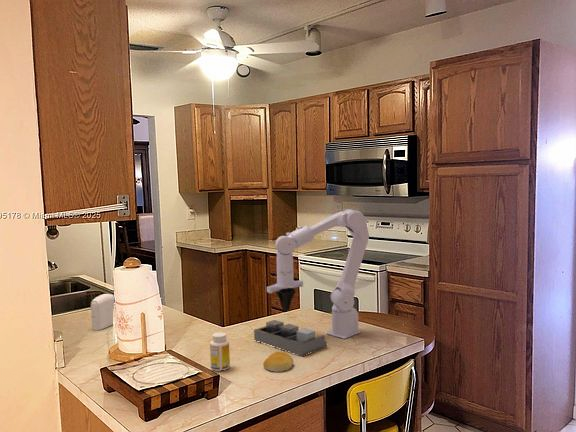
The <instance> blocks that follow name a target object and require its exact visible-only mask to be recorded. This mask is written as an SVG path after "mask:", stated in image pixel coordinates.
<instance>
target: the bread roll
mask: <svg viewBox="0 0 576 432" xmlns="http://www.w3.org/2000/svg"><path fill="white" fill-rule="evenodd" d="M292 365H294V359H293V358H292V356H291V355H290V354H289V353H288V352H285V351H275V352H273V353H271V354H270V355H269V356H268V357H267V358H266V359H265V360H264V361H263V365H262V366H263V368H264V369H265V368H266V369H265V370H267V369H268V370H267V371H269V370H270V371H269V372H271V371H282V372H285V371H284V370H287V371H289V370H290V369H291V368H292V367H293V366H292ZM288 369H289V370H288Z"/></svg>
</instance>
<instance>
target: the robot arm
mask: <svg viewBox="0 0 576 432" xmlns="http://www.w3.org/2000/svg"><path fill="white" fill-rule="evenodd" d="M367 222H368V220H367V218H366V217H365V215H364V214H363V212H361V211H360V210H354V209H352V208H346V209H344V210H343V211H338V212H336V213H333V214H332V215H330V216H328V217H326V218H324V219H322V220H321V221H319V222H317V223H315V224H314V225H312V226H309V225H299V226H298V228H297V229H295V230H293V231H292V232H289V231H288V232H286V233H285V235H280V236H279V237H278V238H277V239H276V240H275V243H274V247H275V250H276V283H275V284H272V285H269V286H266V292H267V294H273V293H274V292H275V293H276V295H277V296H278V299H279V302H280V305H281V308H282V309H281V310H282V311H285V312H288V311H290V308H291V304H292V300H293V297H294V296H295V294H296V289H295V288H299V287H300V288H302V287H304V281H303V280H301V279H300V280H294V275H295V274H294V254H293V252H294V250H295V249H298V248H301V247H302V246H304V245H306V244H308V243H310V242H312V241H314V238H315V236H316V235H318V234H320V233H323V232H325V231H327V230H329V229H330V230H331V229H333V228H334V227H341V228H342V227H343V228H346V229H347V230H348V231H349V233H350V235H351V237H352V241H351V245H350V248H349V251H348V255H347V257H346V260H345V263H344V267H343V270H342V273H341V277H340V279H339V281H338V282H337V283H336V286H335V287H334V289H333V290H332V291H331V293H330V301H331V303H332V304H333V305H332V307H331V327H332V328H331V331H329V332H327V333H326V334H327V335H329V336H332V337H337V338H340V339H348V338H350V337H352V336H355V335H357V334H360V333H361V330H359V312H358V311H357V308H355V307H354V306H355V299H354V298H355V293H356V290H355V285H356V281H357V278H358V275H359V271H360V268H361V265H362V262H363V258H364V255H365V252H366V249H367V245H368V243H369V238H370V234H369V230H368V229H369V228H368V224H367Z"/></svg>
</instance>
